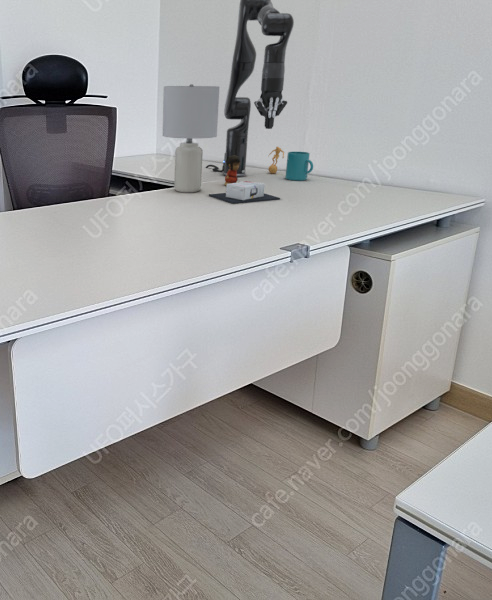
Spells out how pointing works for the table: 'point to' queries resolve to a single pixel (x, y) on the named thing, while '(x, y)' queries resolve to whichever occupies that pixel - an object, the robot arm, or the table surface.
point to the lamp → (189, 129)
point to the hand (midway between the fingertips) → (268, 128)
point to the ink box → (245, 190)
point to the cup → (298, 166)
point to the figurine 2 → (273, 167)
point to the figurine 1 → (232, 169)
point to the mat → (231, 200)
